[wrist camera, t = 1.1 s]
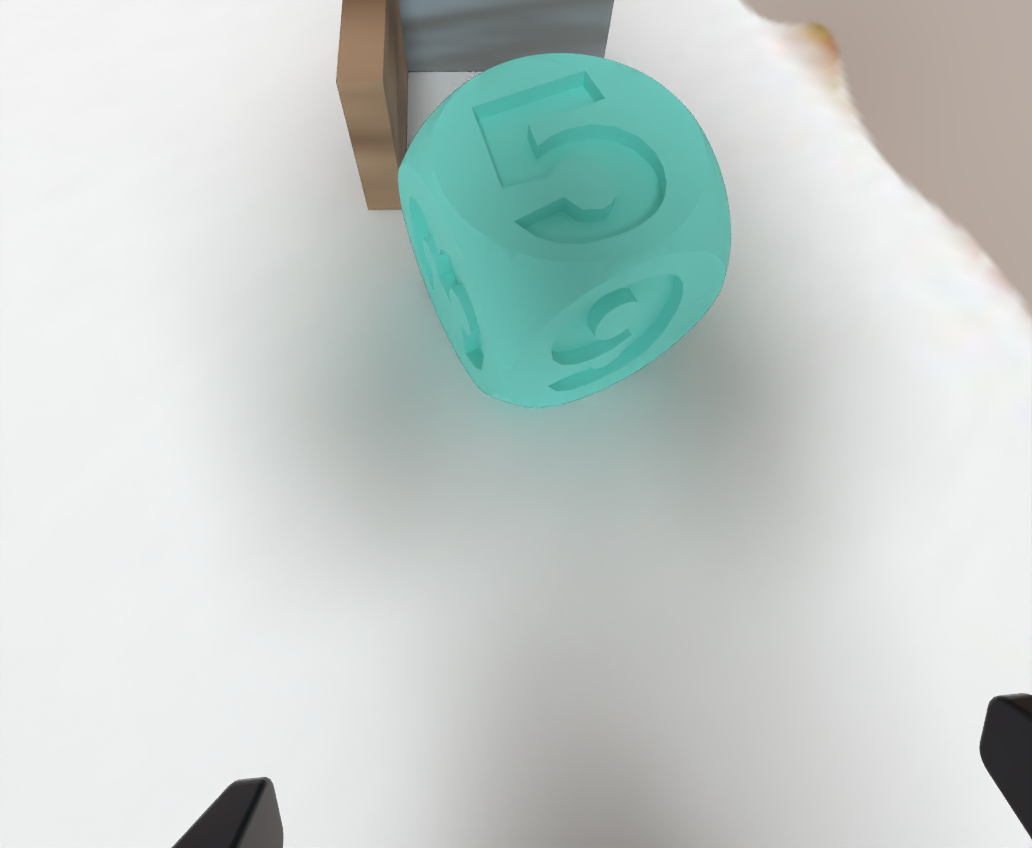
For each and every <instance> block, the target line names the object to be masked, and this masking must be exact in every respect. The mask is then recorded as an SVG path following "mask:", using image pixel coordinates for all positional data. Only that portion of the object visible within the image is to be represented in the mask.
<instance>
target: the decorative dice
mask: <svg viewBox="0 0 1032 848" xmlns="http://www.w3.org/2000/svg"><path fill="white" fill-rule="evenodd" d="M398 187H399V195H400V201H401V206H402V211H403V215H404V219H405V223H406V227H407V231H408V234H409V238H410V241H411V245H412V248H413V251H414V254H415V257H416V260H417V263H418V266H419V269H420V272H421V274H422V277H423V280H424V282H425V285H426V288H427V290H428V293H429V295H430V298H431V300H432V303H433V305H434V307H435V310H436V312H437V314H438V317H439V319H440V321H441V323H442V326H443V328H444V330H445V332H446V334H447V336H448V338H449V340H450V342H451V344H452V346H453V348H454V350H455V352H456V354H457V355H458V357H459V359H460V361H461V362H462V364H463V366H464V367H465V369H466V371H467V372H468V374H469V375H470V377H471V378H472V379H473V381H474V382H475V383H476V385H477V386H478V387H479V388H480V389H481V390H482V391H483V392H484V393H486V394H487V395H490V396H493V397H495V398H498V399H500V400H503V401H506V402H508V403H513V404H517V405H521V406H525V407H532V408H541V407H550V406H556V405H560V404H564V403H568V402H571V401H575V400H578V399H580V398H583V397H586V396H588V395H591V394H593V393H596V392H598V391H600V390H602V389H605V388H607V387H609V386H611V385H613V384H615V383H617V382H618V381H620V380H622V379H624V378H626V377H627V376H629V375H631V374H633V373H634V372H636V371H637V370H639V369H641V368H642V367H644V366H645V365H647V364H648V363H650V362H651V361H653V360H654V359H655V358H657V357H658V356H660V355H661V354H662V353H664V352H665V351H666V350H668V349H669V348H670V347H671V346H672V345H674V344H675V343H676V342H677V341H678V340H680V339H681V338H682V337H683V336H684V335H685V334H686V333H687V332H688V331H689V330H690V329H691V328H692V327H693V326H694V325H695V324H696V323H697V322H698V321H699V320H700V319H701V318H702V317H703V315H704V314H705V313H706V312H707V310H708V309H709V308H710V307H711V305H712V304H713V302H714V301H715V299H716V297H717V296H718V294H719V292H720V290H721V287H722V285H723V282H724V278H725V274H726V270H727V266H728V262H729V255H730V245H731V224H730V213H729V205H728V199H727V194H726V189H725V185H724V181H723V178H722V174H721V171H720V168H719V165H718V162H717V160H716V157H715V154H714V152H713V150H712V148H711V145H710V143H709V141H708V139H707V137H706V135H705V134H704V132H703V130H702V128H701V127H700V125H699V124H698V122H697V121H696V119H695V118H694V116H693V115H692V114H691V112H690V111H689V110H688V109H687V108H686V107H685V106H684V105H683V103H682V102H681V101H680V100H679V99H677V98H676V97H675V96H674V95H673V94H672V93H671V92H670V91H669V90H667V89H666V88H665V87H664V86H662V85H661V84H660V83H658V82H657V81H655V80H654V79H652V78H650V77H649V76H647V75H645V74H643V73H641V72H639V71H637V70H635V69H633V68H631V67H628V66H626V65H623V64H621V63H618V62H615V61H611V60H608V59H604V58H600V57H595V56H589V55H582V54H572V53H549V54H539V55H532V56H526V57H521V58H518V59H514V60H510V61H507V62H505V63H502V64H499V65H497V66H494V67H492V68H490V69H488V70H486V71H484V72H482V73H481V74H479V75H477V76H475V77H474V78H472V79H471V80H469V81H468V82H466V83H465V84H463V85H462V86H461V87H459V88H458V89H457V90H455V91H454V92H453V93H452V94H451V95H450V96H448V97H447V98H446V99H445V100H444V101H443V102H442V103H441V104H440V105H439V106H438V107H437V108H436V109H435V111H434V112H433V113H432V114H431V115H430V116H429V117H428V119H427V120H426V121H425V122H424V124H423V125H422V127H421V128H420V129H419V131H418V132H417V134H416V135H415V137H414V139H413V141H412V142H411V144H410V146H409V148H408V150H407V152H406V154H405V156H404V159H403V161H402V163H401V165H400V168H399V171H398Z"/></svg>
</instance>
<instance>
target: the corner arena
mask: <svg viewBox="0 0 1032 848" xmlns="http://www.w3.org/2000/svg"><path fill="white" fill-rule="evenodd" d="M613 3H614V0H343V2H342V14H341V27H340V40H339V52H338V65H337V77H336V83H337V87H338V91H339V95H340V99H341V103H342V107H343V111H344V115H345V119H346V123H347V127H348V131H349V135H350V139H351V143H352V147H353V151H354V155H355V159H356V163H357V167H358V171H359V174H360V178H361V182H362V186H363V190H364V194H365V198H366V202H367V206H368V210H384V209H402V206H401V201H400V195H399V187H398V171H399V168H400V165H401V163H402V161H403V159H404V156H405V154H406V139H407V88H408V71H486V70H488V69H490V68H492V67H494V66H497V65H499V64H502V63H505V62H507V61H510V60H514V59H518V58H521V57H526V56H532V55H539V54H549V53H572V54H582V55H589V56H595V57H600V58H604V54H605V49H606V43H607V37H608V32H609V26H610V20H611V14H612V9H613Z"/></svg>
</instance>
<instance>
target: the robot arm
mask: <svg viewBox="0 0 1032 848" xmlns="http://www.w3.org/2000/svg"><path fill="white" fill-rule="evenodd" d="M979 748H980V755H981V759H982V761H983V763H984V766H985V768H986V769H987V771H988V772H989V774H990V776H991V777H992V779H993V780H994V782H995V783H996V785H997V786H998V788H999V789H1000V791H1001V792H1002V794H1003V796H1004V797H1005V799H1006V800H1007V802H1008V803H1009V805H1010V806H1011V808H1012V809H1013V811H1014V812H1015V814H1016V816H1017V817H1018V819H1019V820H1020V822H1021V823H1022V825H1023V826H1024V828H1025V829H1026V831H1027V832H1028V834H1029V836H1030V837H1031V839H1032V695H1030V694H1024V693H1019V694H1010V695H1000V696H996V697H994V698H993V699H992V700H991V701H990V702H989V705H988V708H987V713H986V717H985V722H984V726H983V731H982V735H981V740H980V746H979ZM172 848H283V827H282V822H281V817H280V813H279V808H278V803H277V799H276V794H275V789H274V786H273V783H272V781H271V780H270V779H269V778H267V777H259V778H250V779H242V780H237V781H235V782H233V783H232V784H230V785H229V786H228V787H227V788H226V789H225V790H224V792H223V793H222V794H221V795H220V796H219V797H218V798H217V799H216V800H215V801H214V802H213V803H212V805H211V806H210V807H209V808H208V809H207V810H206V811H205V812H204V813H203V814H202V815H201V816H200V818H199V819H198V820H197V821H196V822H195V823H194V824H193V825H192V826H191V827H190V828H189V830H188V831H187V832H186V833H185V834H184V835H183V836H182V837H181V838H180V839H179V840H178V841H177V843H176V844H175V845H174V846H173V847H172Z"/></svg>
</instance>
